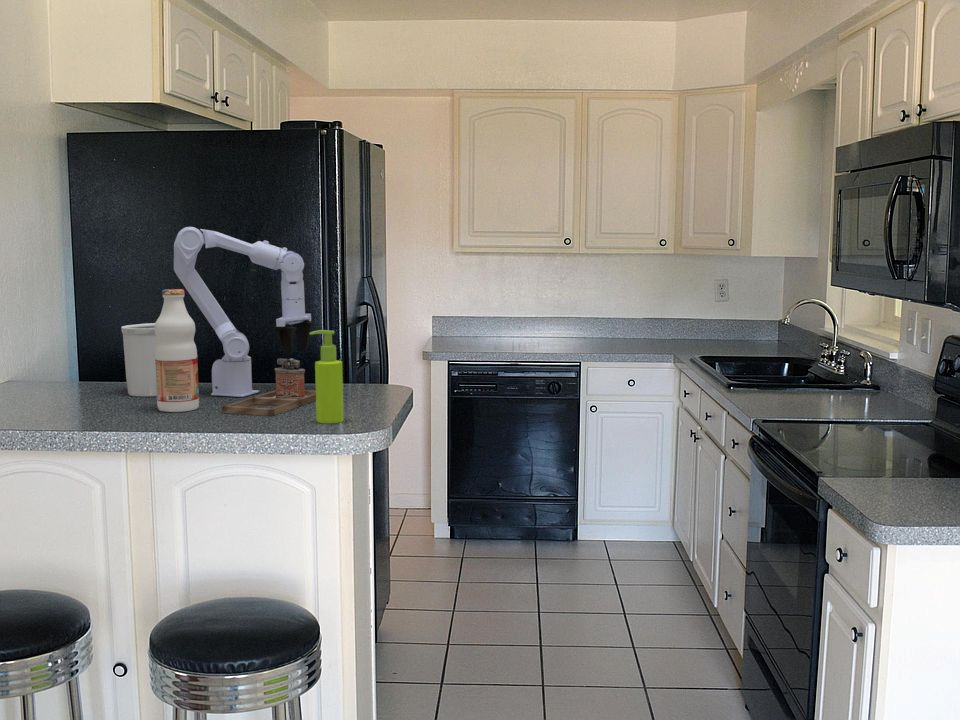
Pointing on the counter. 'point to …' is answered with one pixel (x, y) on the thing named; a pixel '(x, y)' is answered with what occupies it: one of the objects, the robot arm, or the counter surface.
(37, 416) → the counter surface
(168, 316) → the fruit juice
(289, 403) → the tray
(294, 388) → the lighter
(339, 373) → the soap dispenser
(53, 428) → the counter surface
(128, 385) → the utensil holder
